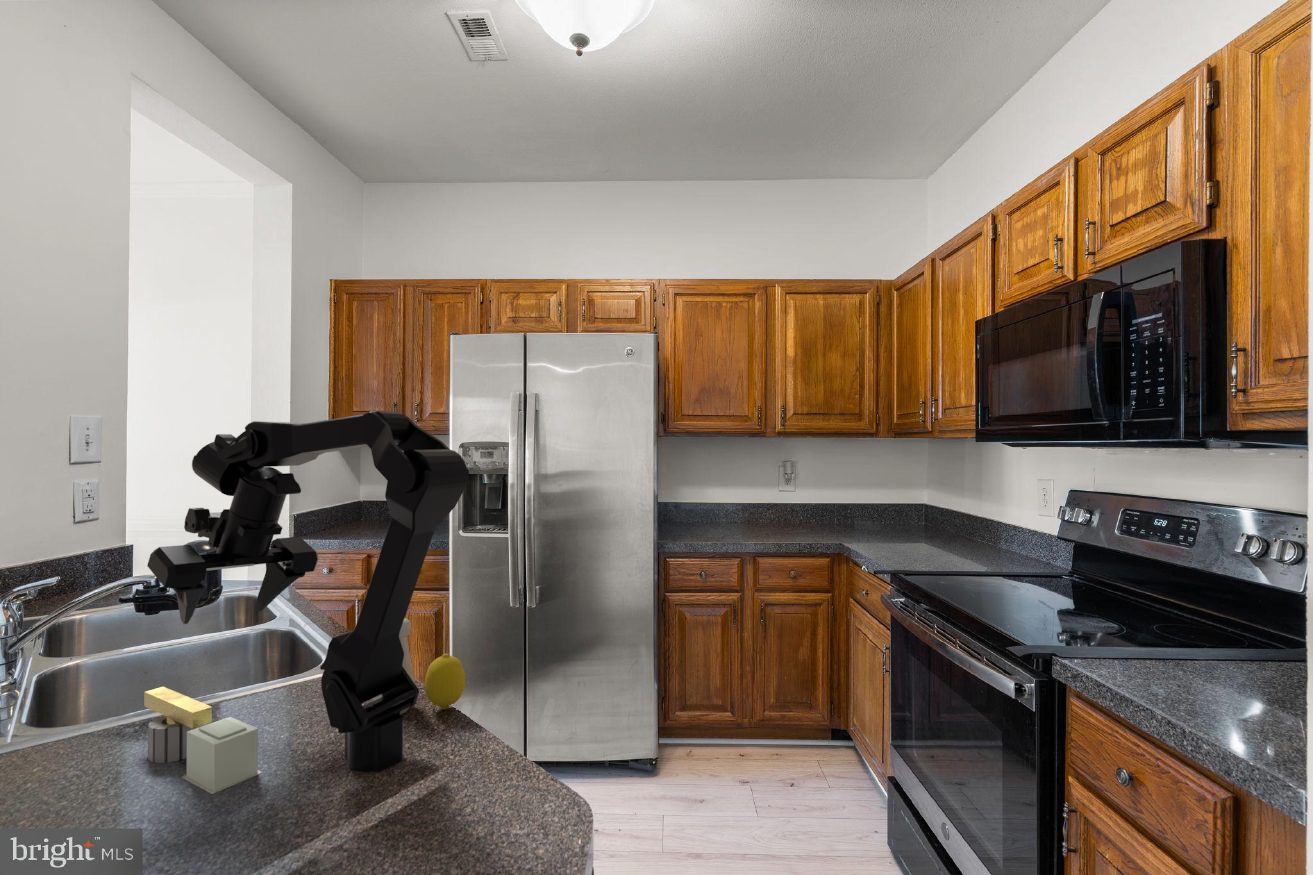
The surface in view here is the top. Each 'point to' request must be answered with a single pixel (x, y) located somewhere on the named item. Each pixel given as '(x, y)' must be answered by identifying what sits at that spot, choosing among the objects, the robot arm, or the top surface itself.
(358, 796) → the top surface
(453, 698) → the lemon
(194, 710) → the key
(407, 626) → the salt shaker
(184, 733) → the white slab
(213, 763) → the pale green block
